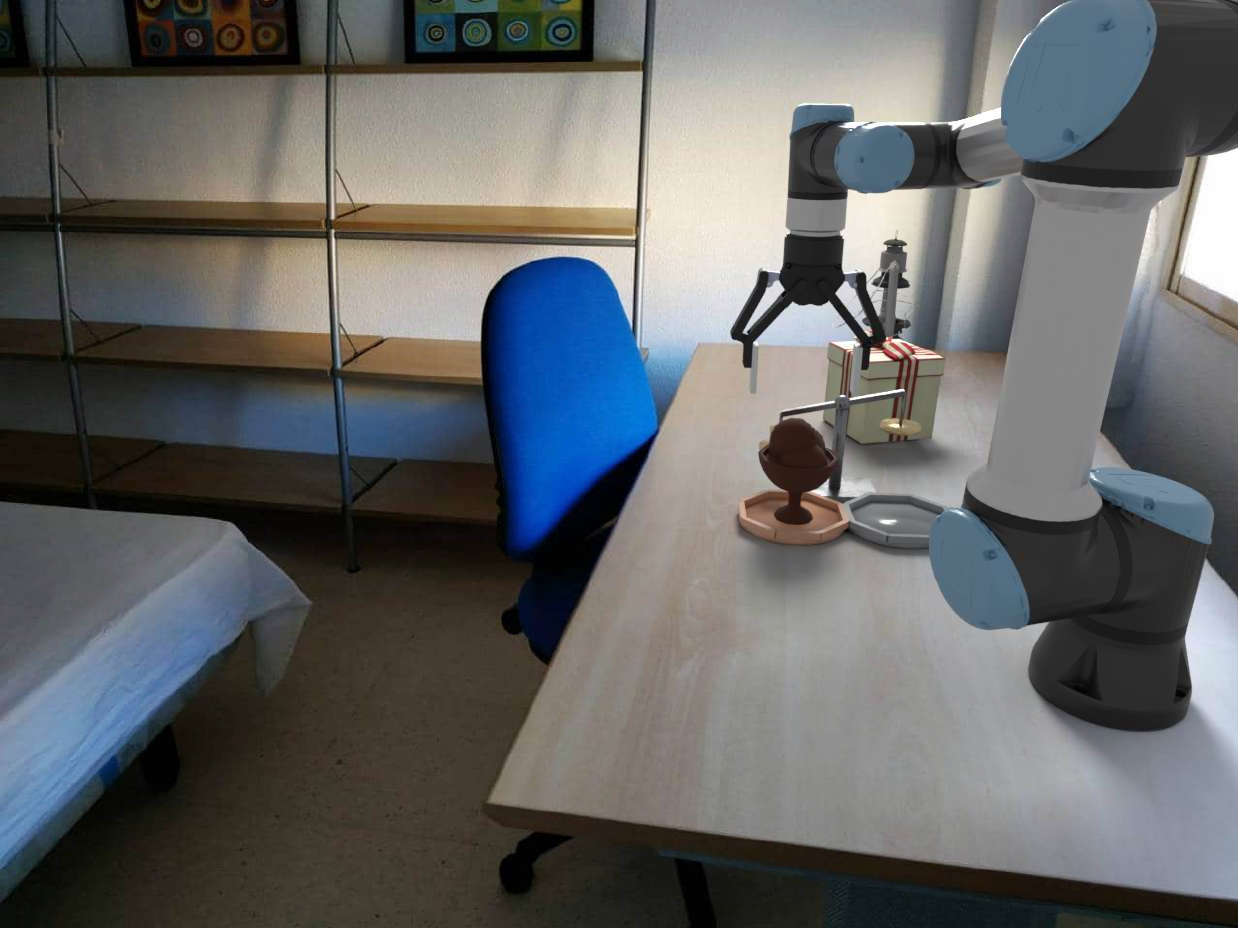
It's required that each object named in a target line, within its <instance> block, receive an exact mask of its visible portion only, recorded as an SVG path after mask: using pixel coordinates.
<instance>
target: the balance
mask: <svg viewBox="0 0 1238 928" xmlns="http://www.w3.org/2000/svg"><path fill="white" fill-rule="evenodd" d="M897 397H902V401H901V409H900V418H899V419H897V418H892V419H885V420H882V421H880V424H879V428H880V429H881V430H882V431H884V432H886V433H890V434H894V435H903V436H908V435H916V434H919V433H920V432H921V425H920V424H919V423H917V422H914V421H911V420H906V419H903V414H904V406H905V397H906V392H905V391H904V389H900V390H894V391H888V392H883V393H877V394H871V395H865V396H859V397H853V398H849V397H847V396H846V395H840V396H838V397H836V399H835V401H830V402H825V401H824V402H818V403H814V404H807V405H802V406H796V407H791V408H790V407H789V408H785V409H780V413H779V419H778V420H779V421H778V423H779V422H780V421H783V420H784V418H785V417H791V416H796V415H801V414H809V413H813V412H819V411H824V410H827V409H833V408H836V410H835V421H834V426H833V434H832V446H831V450H832V451H833V452H834V453H835V454H836V455H837V456H838V458H839V461H838V465H837V468H836V470H835V471H834V473H833V474H832V476H831V477H830V478H829V479H828V480H827V481H826V482H825V483H824V484H823V485H821V486H820V487H819V488H817V489H815V490H813V491H811V492H813V493H816V494H819V495H821V496H824V497H827V498H830V499H832V500H835V501H838V502H840V503H842V504H843V503H845V502H847V501H849V500H852V499H854V498H856V497H859V496H861V495H863V494H866V493H878V492H877V490H876V488H875V486H874V484H873V482H872V480H871V478H870V477H865V476H863V477H861V476H860V477H859V476H842V474H843V467H844V466H843V464H844V455H845V454H844V453H845V444H846V436H847V435H846V425H847V415H848V409H849V407H850V405H856V404H862V403H868V402H874V401H879V400H885V399H891V398H897ZM775 425H776V424H773V425H770V426H769V438H766V439H764V440H761V441H760V442H759V444H758V449H759V451H760V450H761V449H762V448H764V447H765V446H766V445H767V444H769V442H770V436H771V433H772V431H773V430H774V426H775Z"/></svg>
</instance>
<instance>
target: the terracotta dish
mask: <svg viewBox="0 0 1238 928" xmlns="http://www.w3.org/2000/svg"><path fill="white" fill-rule="evenodd" d="M788 500H789V494H788V491H785V490H782V489H773V488H772V489H764V490H762V491H759V492H756V493H754V494H750V495H747V496H746V497H742V498H740V499H739V500H738V507H737V508H738V515H739V516H738V521H739V525H741V527H742V529H743V530H745V531H746V532H747V533H749V534H751V535H752V536H755V537H756V538H758V539H759V538H760V539H762V540H765V541H769V542H772V543H775V544H782V545H790V546H791V545H793V546H808V545H811V546H812V545H818V544H819V545H820V544H824V543H828V542H831V541H833V540H836V539H837V538H839V537H841V536H842V535H843V534H844V533H845V531H846V530H848V527H849V519H848V516H847V514H846V511H845V508H844V506H843V504H842V503H840V502H838V501H835V500H832V499H830V498H827V497H824V496H821V495H819V494H816V493H813V492H811V491H810V492H805V493H803V494H802V496H801V506H802V507H804V508H806V509H808V510H809V511H810V513H811V514H812V516H813V519H812V520H811V522H810V523H807V524H802V525H792V524H785V523H783V522H780V521H778V520H776V518H775V516H774V513H775V511H776V510H777V509H778V508H779V507H782V506H785V505H788Z"/></svg>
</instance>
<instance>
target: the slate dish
mask: <svg viewBox="0 0 1238 928" xmlns="http://www.w3.org/2000/svg"><path fill="white" fill-rule="evenodd" d="M843 506H844V508H845V511H846V514H847V516H848V519H849V527H848V528H847V530H849V532H850V533H852V534H854V535H855V536H857V537H859V538H860V539H863V540H864V541H868V542H870V543H873V544H877V545H880V546H884V547H889V548H890V547H891V548H896V549H905V550H920V549H929V535H930V530H931V527H932V524H933V522H934V520H935V519H936V517H937V516H939V515H941V514H942V512H944V511H946V510H948V509H949V508H950V507H948V506H947V505H944V504H942V503H938V502H935V501H933V500H929V499H926V498H925V497H924V498H923V497H921V496H918V495H915V494H912V493H901V492H900V493H897V492H895V493H894V492H877V493H866V494H863V495H861V496H859V497H856V498H854V499H852V500H849V501H847V502H845V503H843Z"/></svg>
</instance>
